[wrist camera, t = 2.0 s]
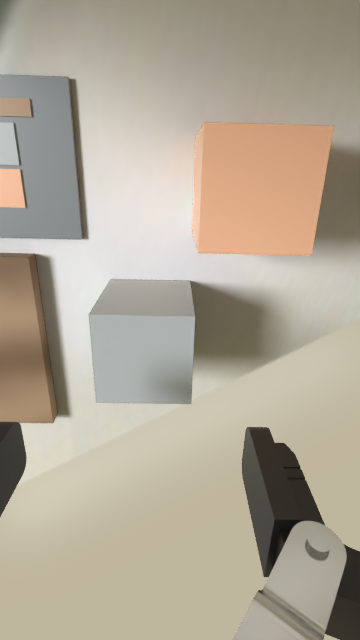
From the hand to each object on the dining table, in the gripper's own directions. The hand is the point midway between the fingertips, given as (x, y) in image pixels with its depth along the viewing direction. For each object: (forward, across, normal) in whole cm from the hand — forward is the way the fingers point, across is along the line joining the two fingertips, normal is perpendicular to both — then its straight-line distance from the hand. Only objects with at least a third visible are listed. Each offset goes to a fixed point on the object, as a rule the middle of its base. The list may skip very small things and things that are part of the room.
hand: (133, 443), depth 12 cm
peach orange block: (+11, -5, -8) cm, 15 cm away
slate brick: (+11, 0, 0) cm, 11 cm away
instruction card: (+11, +9, -9) cm, 17 cm away
